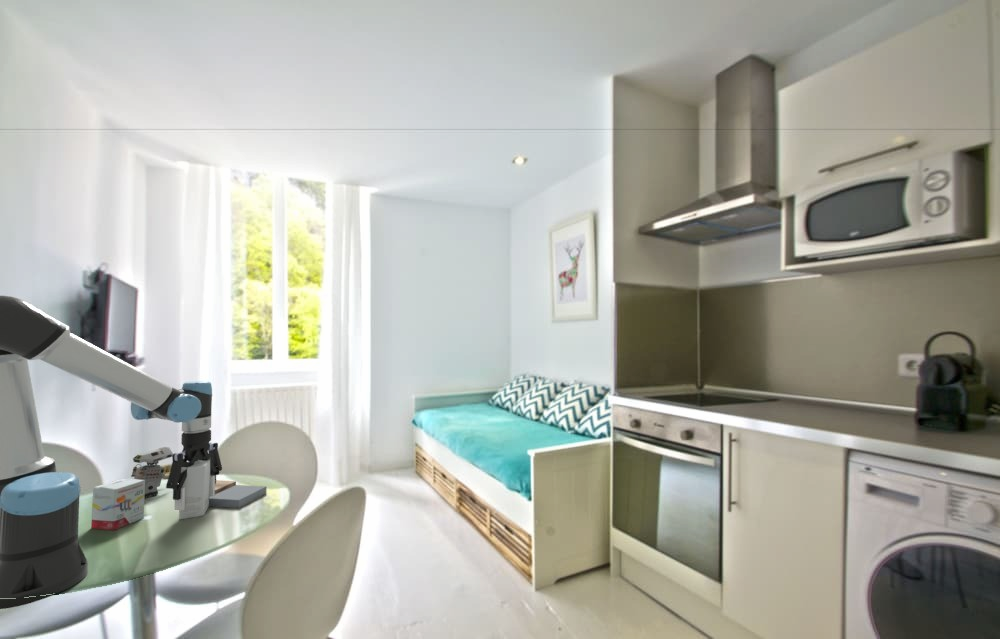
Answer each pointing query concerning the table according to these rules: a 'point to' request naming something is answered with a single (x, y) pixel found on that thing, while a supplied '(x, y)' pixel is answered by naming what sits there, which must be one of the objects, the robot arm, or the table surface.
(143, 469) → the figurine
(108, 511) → the ink box
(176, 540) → the table surface
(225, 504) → the slate slab
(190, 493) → the skincare box
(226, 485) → the walnut stand
